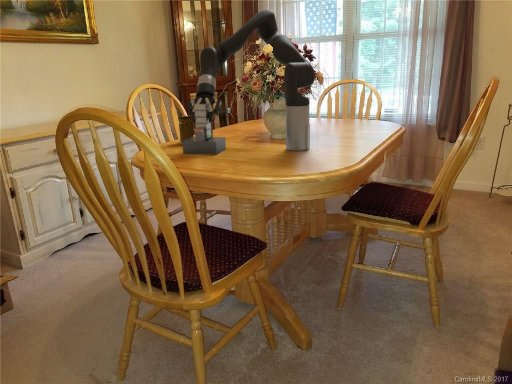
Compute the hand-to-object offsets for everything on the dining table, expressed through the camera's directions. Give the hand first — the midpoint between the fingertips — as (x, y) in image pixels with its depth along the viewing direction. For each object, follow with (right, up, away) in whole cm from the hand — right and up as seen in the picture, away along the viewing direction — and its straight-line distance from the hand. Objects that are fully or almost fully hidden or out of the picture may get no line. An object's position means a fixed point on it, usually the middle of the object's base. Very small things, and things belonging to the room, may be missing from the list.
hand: (202, 121), depth 161 cm
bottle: (-2, -4, +31) cm, 31 cm away
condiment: (-9, -5, +27) cm, 29 cm away
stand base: (+1, -11, +5) cm, 12 cm away
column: (0, -6, +4) cm, 7 cm away
